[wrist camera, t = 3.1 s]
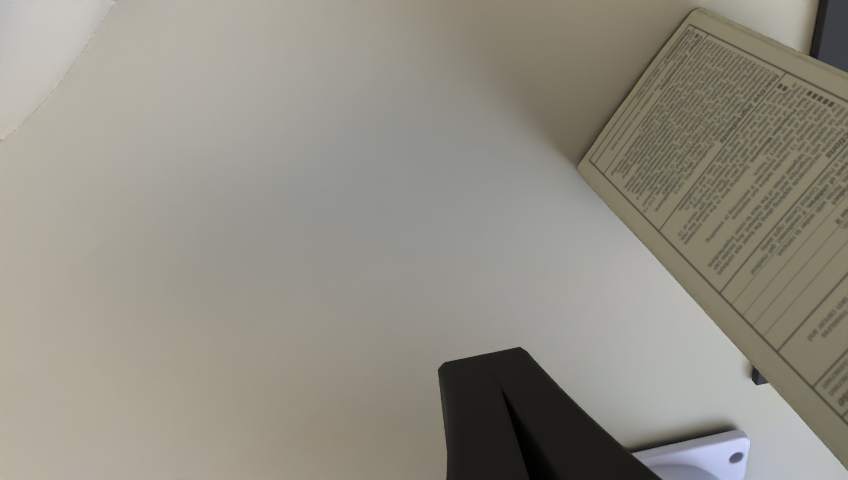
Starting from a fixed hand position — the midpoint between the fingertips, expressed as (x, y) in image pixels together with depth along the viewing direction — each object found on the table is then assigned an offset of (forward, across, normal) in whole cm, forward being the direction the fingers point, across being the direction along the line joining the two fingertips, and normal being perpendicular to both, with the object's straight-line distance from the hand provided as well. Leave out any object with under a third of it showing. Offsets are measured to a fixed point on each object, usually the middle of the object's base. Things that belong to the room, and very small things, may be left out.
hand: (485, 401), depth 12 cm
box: (+9, -8, 0) cm, 12 cm away
